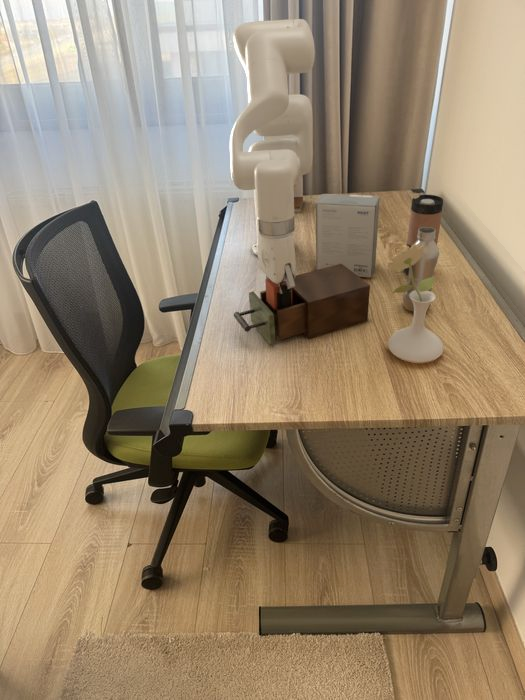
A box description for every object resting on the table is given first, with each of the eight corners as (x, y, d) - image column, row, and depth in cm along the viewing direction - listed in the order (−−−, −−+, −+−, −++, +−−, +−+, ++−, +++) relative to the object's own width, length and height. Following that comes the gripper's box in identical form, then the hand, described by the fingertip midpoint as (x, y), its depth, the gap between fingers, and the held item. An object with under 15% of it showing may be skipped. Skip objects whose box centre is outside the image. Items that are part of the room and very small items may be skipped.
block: (266, 300, 116) (265, 279, 113) (284, 296, 117) (283, 274, 114) (274, 309, 112) (273, 287, 109) (292, 304, 114) (291, 282, 111)
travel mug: (433, 279, 135) (445, 205, 123) (403, 278, 136) (412, 204, 124) (431, 266, 141) (442, 194, 129) (403, 265, 142) (411, 194, 130)
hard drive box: (375, 266, 143) (381, 195, 131) (371, 278, 137) (377, 206, 125) (321, 260, 147) (322, 192, 136) (314, 273, 141) (315, 202, 130)
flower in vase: (432, 335, 114) (450, 229, 99) (449, 366, 105) (471, 254, 90) (374, 339, 114) (383, 233, 99) (386, 370, 105) (397, 259, 90)
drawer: (250, 351, 111) (247, 321, 107) (231, 326, 120) (228, 297, 115) (328, 328, 117) (328, 298, 113) (305, 305, 126) (305, 277, 121)
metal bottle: (398, 303, 126) (406, 225, 114) (425, 300, 126) (436, 223, 115) (406, 316, 121) (416, 237, 109) (434, 314, 121) (447, 234, 109)
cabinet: (308, 339, 116) (308, 302, 110) (284, 313, 125) (283, 278, 120) (367, 321, 120) (370, 285, 115) (340, 297, 130) (341, 263, 124)
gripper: (243, 215, 109) (249, 290, 120) (276, 243, 97) (280, 324, 107) (275, 208, 112) (278, 282, 122) (311, 234, 99) (312, 315, 109)
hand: (279, 301), depth 115 cm, fingers closed on block, 4 cm apart
